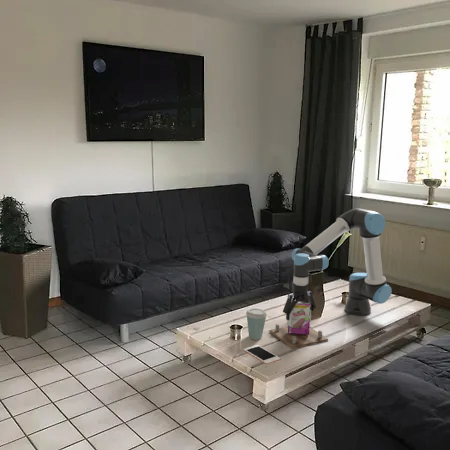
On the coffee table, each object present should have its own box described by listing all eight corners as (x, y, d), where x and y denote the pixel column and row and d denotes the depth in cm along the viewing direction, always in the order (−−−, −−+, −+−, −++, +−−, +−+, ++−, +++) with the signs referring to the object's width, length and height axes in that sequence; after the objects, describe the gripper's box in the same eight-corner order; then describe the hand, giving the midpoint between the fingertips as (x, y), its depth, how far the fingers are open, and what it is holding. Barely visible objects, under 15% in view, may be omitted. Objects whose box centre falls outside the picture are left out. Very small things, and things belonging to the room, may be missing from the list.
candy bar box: (287, 334, 261) (288, 304, 258) (287, 330, 266) (288, 301, 262) (309, 335, 260) (310, 305, 256) (308, 331, 265) (310, 301, 261)
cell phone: (266, 365, 233) (266, 363, 233) (242, 350, 247) (243, 348, 247) (280, 360, 238) (280, 358, 238) (256, 346, 252) (256, 344, 252)
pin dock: (303, 325, 278) (304, 317, 277) (328, 341, 258) (328, 332, 257) (269, 332, 268) (269, 323, 267) (292, 348, 249) (292, 340, 248)
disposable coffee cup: (253, 331, 269) (254, 305, 266) (270, 337, 262) (271, 310, 259) (241, 338, 261) (242, 310, 258) (258, 343, 254) (259, 316, 251)
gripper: (315, 278, 266) (313, 317, 270) (276, 284, 255) (275, 324, 260) (324, 282, 259) (322, 322, 264) (284, 289, 249) (283, 329, 253)
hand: (298, 323), depth 262 cm, fingers closed on candy bar box, 12 cm apart
